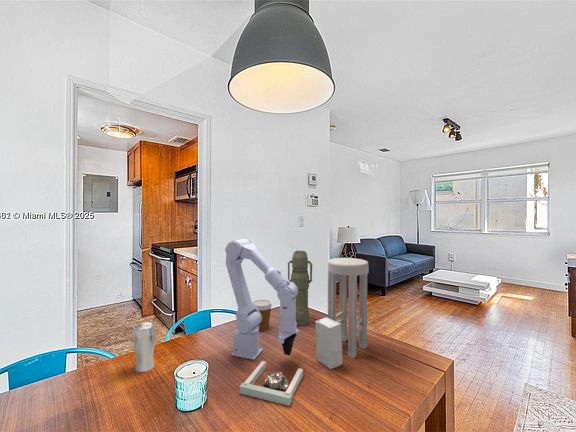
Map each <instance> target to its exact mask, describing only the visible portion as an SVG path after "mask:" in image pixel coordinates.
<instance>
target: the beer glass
mask: <svg viewBox="0 0 576 432" xmlns="http://www.w3.org/2000/svg"><path fill="white" fill-rule="evenodd" d="M156 339H157V338H156V323H155V322H153V321H143V322H138V323H137V324H135V325H134V326H133V333H132V342H133V351H134V353H135V358H136V360H135V361H136V362H135V366H134V371H135V372H136V373H140V374H141V373H142V372H143V373H146V372H148V371H151V370H153V369H154V368H155V360H154V351H155V346H156ZM143 373H142V374H143Z"/></svg>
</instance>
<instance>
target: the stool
mask: <svg viewBox="0 0 576 432" xmlns="http://www.w3.org/2000/svg"><path fill="white" fill-rule="evenodd" d="M369 268H370V267H369V262H368V260H365V259H362V258H355V257H354V258H353V257H336V258H335V257H334V258H331V259H328V263H327V318H329V319H331V320H333V321H336V322H338V323H341V336H342V342H344V343H345V342H346V341H347V345H348V347H347V356H348V357H349V358H351V359H355V358H356V357H357V333H359V334H358V348H361V349H364V350H365V349H366V348H367V347H368V346H367V345H368V342H367V341H368V274H369V270H370V269H369ZM337 275H339V312H338V313H336V311H337V309H336V308H337ZM358 276H359V289H358ZM358 290H359V296H358ZM358 297H359V299H357V298H358ZM358 301H359V306H358ZM357 306H358V307H359V309H358V307H357ZM357 309H358V310H359V311H357ZM358 312H359V313H358ZM357 313H358V314H357ZM358 315H359V318H357V317H358ZM347 318H348V319H347ZM337 319H338V320H337ZM357 325H358V326H357ZM347 326H348V327H347ZM347 329H348V331H347Z"/></svg>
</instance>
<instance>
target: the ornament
mask: <svg viewBox="0 0 576 432" xmlns="http://www.w3.org/2000/svg"><path fill="white" fill-rule="evenodd" d="M263 385H265V386H268V388H269V389H273V390H276V389H279V390H284V391H286V390H287V389H288V387H289V380H288V379H287V377H286V375H284V374H283V372H282V371H277V372H270V371H268V372H267V374H266V375H265V379H264V380H263Z"/></svg>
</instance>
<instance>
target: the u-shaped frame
mask: <svg viewBox="0 0 576 432" xmlns="http://www.w3.org/2000/svg"><path fill="white" fill-rule="evenodd" d="M266 369H267V361H264V360H261V361H260V363H259V364H258V365H257V367H255V369H254V370H253V371H252V372H251V374H250V375H249V376H248V377H247V379H245V381H244V382H241V384H240V385H239V394H240V395H244V396H249V397H252V398H257V399H260V400H264V401H267V402H268V401H269V402H272V403H277V404H281V405H284V406H288V407H290V406H291V405H292V402H293V397H294V395H295V392H296V390H297V389H298V387H299V385H300V382H301V380H302V379H303V376H304V369H303V368H297V370H296V372H295V374H294V376H293V378H292V380H291V381H290V384H288V387H287V389H286V390H285V391H281V390H276V389H274V388H270V387H265V386H259V385H255V383H256V382H257V380H258V379H259V378H260V376H261V375H262V373H264V371H265V370H266Z"/></svg>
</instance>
